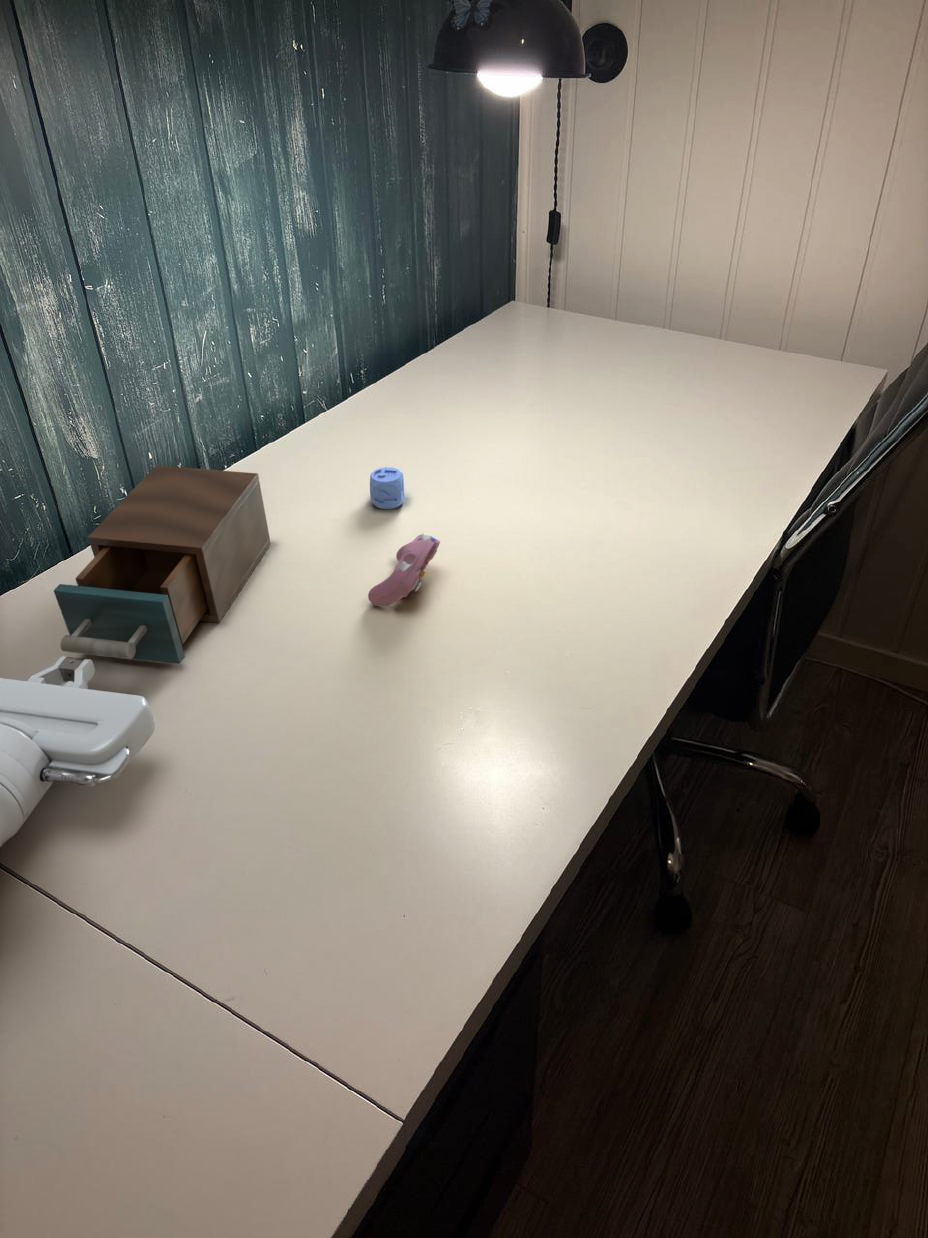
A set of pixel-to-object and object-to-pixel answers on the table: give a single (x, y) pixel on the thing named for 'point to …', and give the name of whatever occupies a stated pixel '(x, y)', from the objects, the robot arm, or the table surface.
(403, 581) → the video game controller
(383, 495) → the decorative dice
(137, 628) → the drawer
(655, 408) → the table surface
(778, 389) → the table surface
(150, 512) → the cabinet
